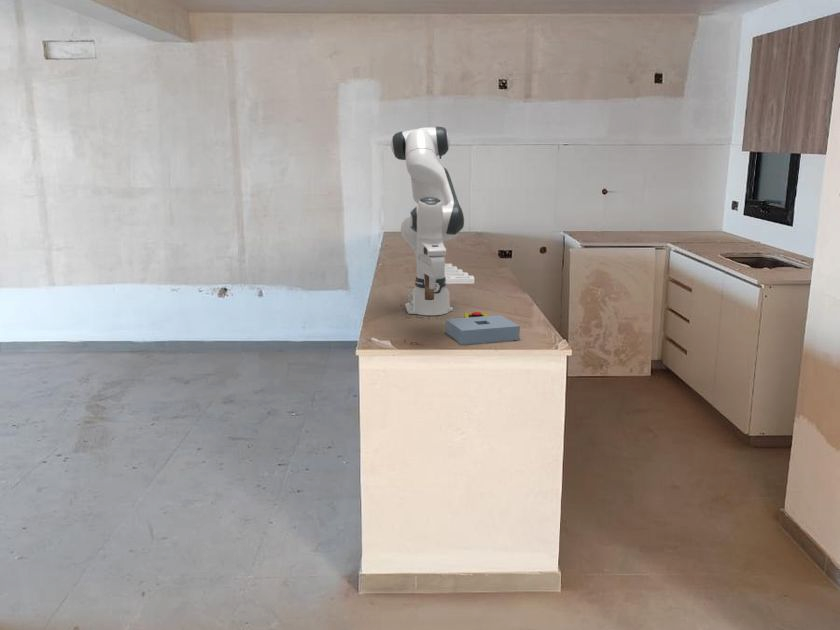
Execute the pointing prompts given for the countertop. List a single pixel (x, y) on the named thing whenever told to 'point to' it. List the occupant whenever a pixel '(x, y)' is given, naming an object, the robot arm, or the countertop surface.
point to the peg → (428, 290)
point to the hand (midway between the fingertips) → (429, 287)
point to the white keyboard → (457, 275)
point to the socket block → (482, 329)
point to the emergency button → (475, 314)
